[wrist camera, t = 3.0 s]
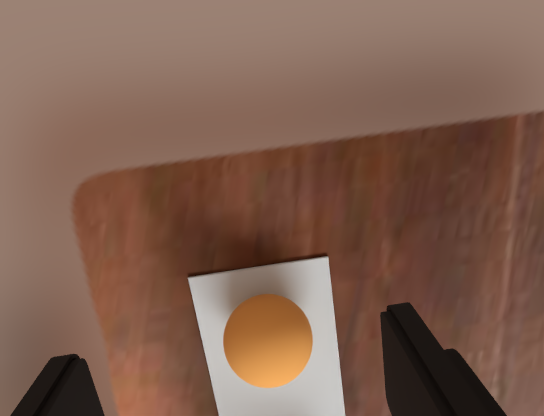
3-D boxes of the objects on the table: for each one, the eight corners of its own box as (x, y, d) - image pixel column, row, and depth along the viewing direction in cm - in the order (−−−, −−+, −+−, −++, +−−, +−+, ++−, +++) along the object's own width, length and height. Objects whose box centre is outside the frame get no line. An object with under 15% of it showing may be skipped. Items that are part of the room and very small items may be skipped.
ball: (218, 285, 30) (211, 334, 24) (301, 272, 30) (314, 319, 24) (232, 354, 32) (229, 416, 26) (310, 343, 32) (324, 401, 26)
